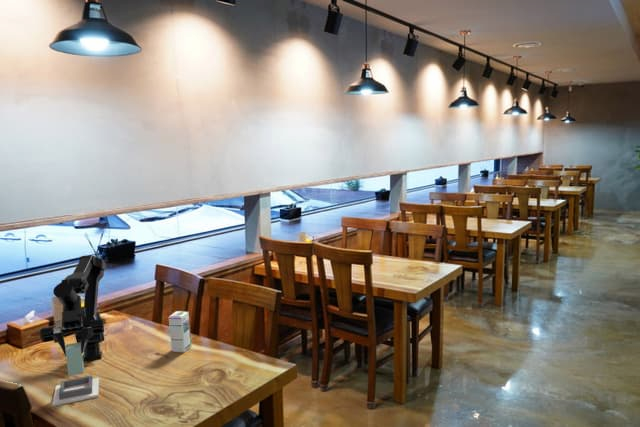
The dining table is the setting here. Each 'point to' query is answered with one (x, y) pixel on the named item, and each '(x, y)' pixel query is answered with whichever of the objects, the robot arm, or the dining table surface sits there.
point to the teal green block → (74, 359)
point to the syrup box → (180, 331)
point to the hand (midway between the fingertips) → (73, 354)
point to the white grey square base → (76, 390)
